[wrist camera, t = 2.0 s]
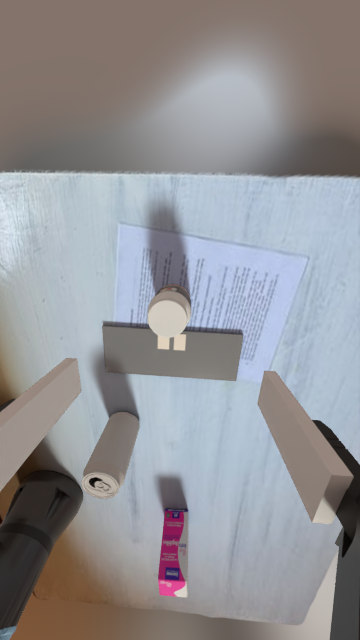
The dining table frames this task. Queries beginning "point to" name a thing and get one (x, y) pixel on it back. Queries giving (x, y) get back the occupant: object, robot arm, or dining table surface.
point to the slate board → (172, 353)
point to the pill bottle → (169, 311)
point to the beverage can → (111, 456)
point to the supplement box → (174, 554)
